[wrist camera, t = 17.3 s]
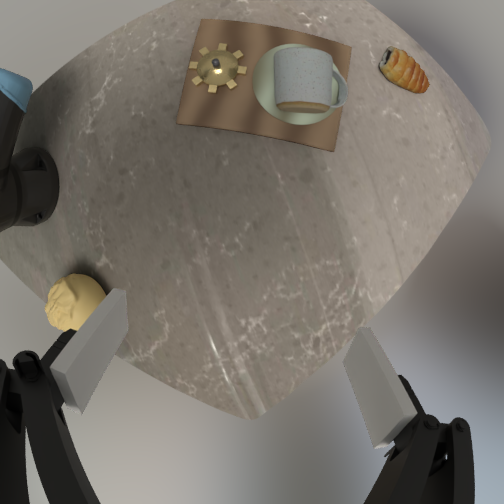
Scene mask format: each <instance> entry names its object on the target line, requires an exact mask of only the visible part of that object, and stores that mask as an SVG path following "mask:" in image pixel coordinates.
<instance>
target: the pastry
mask: <svg viewBox="0 0 504 504" xmlns="http://www.w3.org/2000/svg"><path fill="white" fill-rule="evenodd" d="M379 66H380V70H381V71H382V73H383V74H384V75H385V77H386V78H387V79H388V80H389V81H391V82H392V83H393V84H396V85H397V86H400V87H402V88H404V89H406V90H409V91H411V92H413V93H424V92H426V90H427V88H428V87H429V85H430V84H429V82H428V78H427V77H426V75H425V72H424V71H423V70H422V69H421V68H420V65H419V64H418V63H416V62H415V60H414V59H413V58H412V57H410V56H408V55H407V53H406V52H405V51H403V50H399V49H397V48H395V47H392V46H390V47H388V50H387V52H385V53H384V55H383V61H381V62H380V65H379Z"/></svg>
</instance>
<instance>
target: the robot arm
mask: <svg viewBox="0 0 504 504" xmlns="http://www.w3.org/2000/svg"><path fill="white" fill-rule="evenodd" d="M32 90H33V87H32V83H31V81H30V80H29V79H27V78H25V77H23V76H20V75H18V74H15V73H13V72H10V71H7V70H5V69H1V68H0V232H1V231H3V230H5V229H7V228H9V227H11V226H35V225H38V224H40V223H42V222H44V221H46V220H47V219H48V218H49V217H50V216H51V214H52V213H53V211H54V209H55V206H56V203H57V199H58V193H59V180H58V173H57V169H56V166H55V163H54V161H53V159H52V158H51V156H50V155H49V154H48V153H47V152H46V151H45V150H43V149H41V148H38V147H34V148H26V149H23V150H21V151H20V152H18V153H16V154H15V155H13V156H12V154H13V150H14V146H15V143H16V139H17V136H18V132H19V129H20V126H21V123H22V120H23V117H24V114H26V112H27V109H26V108H27V105H28V102H29V99H30V96H31V93H32ZM127 332H128V318H127V301H126V291H125V290H121V289H117V288H113V289H112V291H111V292H110V293H109V294H108V295H107V296H106V297H105V299H104V300H103V301H102V302H101V303H100V304H99V305H98V307H97V308H96V309H95V310H94V311H93V313H92V314H91V315H90V316H89V317H88V319H87V320H86V321H85V322H84V323H83V325H82V326H81V327H80V328H79V330H78V331H76V330H74V329H71V328H70V329H69V330H67V331H65V332H63V333H62V334H61V335H60V337H59V338H58V339H57V341H55V343H54V344H53V345H52V346H51V347H50V349H49V350H48V351H47V352H46V354H45V355H44V356H43V358H42V359H41V360H40V359H39V356H38V355H37V354H36V353H35V352H33V351H22V352H20V353H18V354H17V355H16V356H15V357H14V359H13V366H14V368H15V370H13V369H8V367H7V366H6V363H5V362H4V361H3V360H2V359H0V504H30V502H29V495H28V487H27V476H26V458H25V433H26V431H25V430H26V428H27V433H28V438H29V442H30V446H31V450H32V454H33V457H34V461H35V464H36V468H37V471H38V474H39V477H40V480H41V483H42V485H43V488H44V491H45V494H46V496H47V499H48V501H49V503H50V504H100V502H99V500H98V498H97V496H96V494H95V492H94V490H93V488H92V486H91V484H90V482H89V480H88V478H87V476H86V473H85V471H84V469H83V467H82V464H81V462H80V459H79V457H78V455H77V452H76V450H75V447H74V444H73V441H72V438H71V436H70V433H69V430H68V427H67V424H66V420H65V417H64V414H63V410H62V408H61V406H62V404H63V403H64V402H65V404H66V406H67V408H68V409H70V410H72V411H74V412H77V413H79V414H81V415H82V414H83V412H84V410H85V408H86V406H87V404H88V402H89V400H90V398H91V396H92V394H93V392H94V390H95V388H96V387H97V385H98V383H99V381H100V379H101V378H102V376H103V374H104V372H105V370H106V368H107V367H108V365H109V363H110V361H111V360H112V358H113V356H114V354H115V353H116V351H117V349H118V347H119V346H120V344H121V342H122V341H123V339H124V337H125V336H126V334H127ZM343 364H344V367H345V369H346V372H347V374H348V377H349V380H350V382H351V385H352V388H353V390H354V393H355V396H356V399H357V401H358V404H359V407H360V410H361V412H362V415H363V418H364V421H365V424H366V427H367V430H368V433H369V435H370V438H371V441H372V444H373V447H374V449H376V448H382V447H386V446H388V445H389V444H390V443H391V442H392V441H393V440H394V443H395V446H393V447H392V448H391V449H390V450H389V451H388V452H387V453H386V454H385V456H384V457H386V456H387V455H389V456H388V458H387V460H386V463H385V465H384V467H383V469H382V471H381V473H380V475H379V477H378V479H377V481H376V482H375V484H374V486H373V488H372V490H371V492H370V493H369V495H368V497H367V499H366V500H365V502H364V504H474V501H475V482H474V481H475V479H474V461H473V450H472V440H471V432H470V427H469V424H468V423H467V421H466V420H464V419H463V418H460V417H459V418H455V419H453V420H452V422H451V423H450V424H445V423H440V422H439V421H438V419H437V418H436V417H434V416H432V415H429V414H427V415H426V414H425V412H424V410H423V408H422V406H421V404H420V402H419V400H418V399H417V397H416V395H415V393H414V391H413V390H412V389H411V386H410V384H409V382H408V381H407V380H406V379H405V378H404V377H403V376H402V375H397V373H396V372H395V370H394V368H393V366H392V364H391V363H390V361H389V359H388V358H387V356H386V354H385V352H384V350H383V349H382V347H381V345H380V344H379V342H378V340H377V339H376V337H375V335H374V333H373V332H372V330H371V328H367V327H366V328H365V327H359V328H358V331H357V333H356V335H355V337H354V340H353V342H352V344H351V346H350V348H349V350H348V353H347V354H346V356H345V358H344V360H343ZM446 455H447V460H446Z"/></svg>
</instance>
